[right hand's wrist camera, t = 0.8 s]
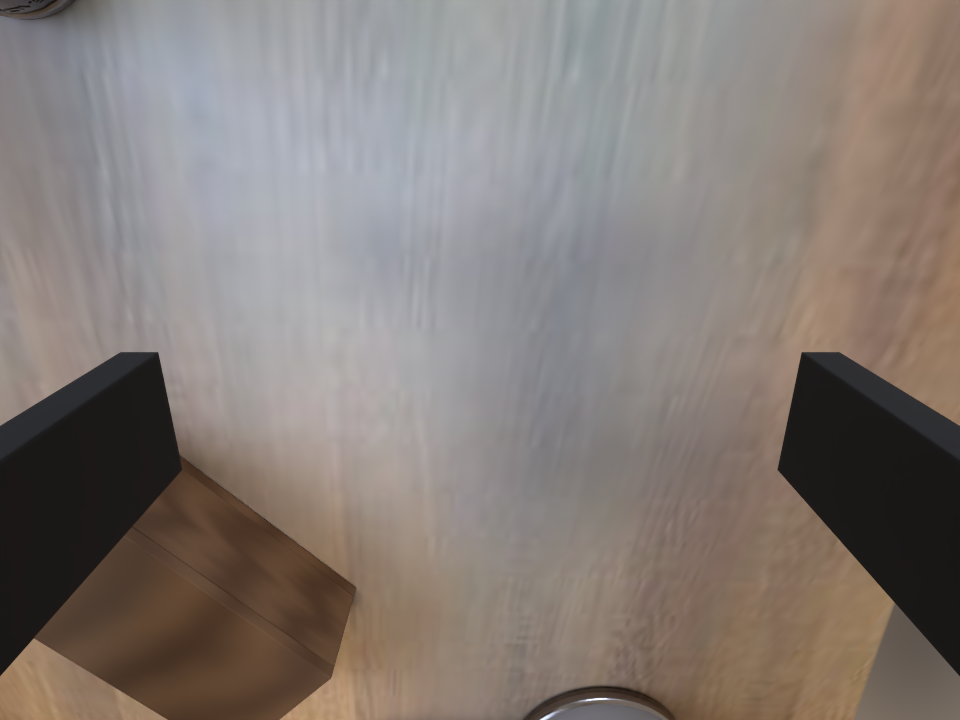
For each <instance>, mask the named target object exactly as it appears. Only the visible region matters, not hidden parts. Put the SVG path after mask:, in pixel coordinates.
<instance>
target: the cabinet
mask: <svg viewBox="0 0 960 720" xmlns="http://www.w3.org/2000/svg"><path fill="white" fill-rule="evenodd" d="M180 461H181V466H182V471H181V472H180V473H179V474H178V475H177V476H176V478H175V479H174V480H173V481H172V482H171V483H170V484H169V485H168V487H167V488H166V489H165V490H164V491H163V492H162V493H161V495H160V496H159V497H158V498H157V499H156V500H155V501H154V502H153V504H152V505H151V506H150V507H149V508H148V509H147V510H146V511H145V513H144V514H143V515H142V516H141V517H140V518H139V519H138V521H137V522H136V523H135V524H134V525H133V526H132V527H131V528H130V530H129V531H128V532H127V533H126V534H125V535H124V536H123V538H122V539H121V540H120V541H119V542H118V543H117V544H116V545H115V547H114V548H113V549H112V550H111V551H110V552H109V553H108V555H107V556H106V557H105V558H104V559H103V560H102V561H101V562H100V564H99V565H98V566H97V567H96V568H95V569H94V570H93V572H92V573H91V574H90V575H89V576H88V577H87V578H86V579H85V581H84V582H83V583H82V584H81V585H80V586H79V587H78V589H77V590H76V591H75V592H74V593H73V594H72V595H71V596H70V598H69V599H68V600H67V601H66V602H65V603H64V604H63V606H62V607H61V608H60V609H59V610H58V611H57V612H56V613H55V615H54V616H53V617H52V618H51V619H50V620H49V621H48V623H47V624H46V625H45V626H44V627H43V628H42V629H41V630H40V632H39V633H38V634H37V635H36V636H35V637H34V639H36V640H38V641H39V642H41V643H43V644H44V645H46V646H48V647H49V648H51V649H53V650H54V651H56V652H57V653H59V654H61V655H62V656H64V657H66V658H67V659H69V660H71V661H72V662H74V663H76V664H77V665H79V666H80V667H82V668H84V669H85V670H87V671H89V672H90V673H92V674H94V675H95V676H97V677H99V678H100V679H102V680H103V681H105V682H107V683H108V684H110V685H112V686H113V687H115V688H117V689H118V690H120V691H122V692H123V693H125V694H126V695H128V696H130V697H131V698H133V699H135V700H136V701H138V702H140V703H141V704H143V705H145V706H146V707H148V708H149V709H151V710H153V711H154V712H156V713H158V714H159V715H161V716H163V717H164V718H166V719H168V720H279V719H281V718H282V717H283V716H284V715H286V714H287V713H288V712H289V711H291V710H292V709H293V708H294V707H296V706H297V705H298V704H299V703H301V702H302V701H303V700H304V699H306V698H307V697H308V696H309V695H311V694H312V693H313V692H314V691H316V690H317V689H318V688H319V687H321V686H322V685H323V684H324V683H326V682H327V681H328V680H329V679H331V677H332V673H333V669H334V666H335V662H336V658H337V655H338V651H339V647H340V644H341V640H342V636H343V633H344V629H345V625H346V622H347V618H348V614H349V611H350V607H351V603H352V600H353V596H354V593H355V589H356V588H355V587H354V586H353V585H351V584H350V583H349V582H347V581H346V580H345V579H343V578H342V577H341V576H339V575H338V574H337V573H335V572H334V571H333V570H331V569H330V568H329V567H327V566H326V565H325V564H323V563H322V562H321V561H319V560H318V559H317V558H315V557H314V556H313V555H311V554H310V553H309V552H307V551H306V550H305V549H303V548H302V547H301V546H299V545H298V544H297V543H295V542H294V541H293V540H291V539H290V538H289V537H287V536H286V535H285V534H283V533H282V532H281V531H279V530H278V529H277V528H275V527H274V526H273V525H271V524H270V523H269V522H267V521H266V520H264V519H263V518H262V517H260V516H259V515H258V514H256V513H255V512H254V511H252V510H251V509H250V508H248V507H247V506H246V505H244V504H243V503H242V502H240V501H239V500H238V499H236V498H235V497H234V496H232V495H231V494H230V493H228V492H227V491H226V490H224V489H223V488H222V487H220V486H219V485H218V484H216V483H215V482H214V481H212V480H211V479H210V478H208V477H207V476H206V475H204V474H203V473H202V472H200V471H199V470H198V469H196V468H195V467H194V466H192V465H191V464H190V463H188V462H187V461H186V460H184V459H183V458H182V457H180Z"/></svg>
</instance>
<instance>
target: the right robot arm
mask: <svg viewBox="0 0 960 720" xmlns="http://www.w3.org/2000/svg"><path fill="white" fill-rule="evenodd" d="M181 471H182V466H181V461H180V456H179V451H178V446H177V441H176V436H175V432H174V427H173V422H172V417H171V412H170V407H169V402H168V398H167V393H166V388H165V383H164V378H163V373H162V368H161V364H160V359H159V354H158V352H120V353H119V354H117V355H116V356H114V357H112V358H111V359H109V360H107V361H106V362H104V363H102V364H101V365H99V366H98V367H96V368H94V369H93V370H91V371H89V372H88V373H86V374H84V375H83V376H81V377H80V378H78V379H76V380H75V381H73V382H71V383H70V384H68V385H66V386H65V387H63V388H62V389H60V390H58V391H57V392H55V393H53V394H52V395H50V396H48V397H47V398H45V399H44V400H42V401H40V402H39V403H37V404H35V405H34V406H32V407H31V408H29V409H27V410H26V411H24V412H22V413H21V414H19V415H17V416H16V417H14V418H13V419H11V420H9V421H8V422H6V423H4V424H3V425H1V426H0V676H1V675H2V673H3V672H4V671H5V670H6V669H7V668H8V667H9V666H10V664H11V663H12V662H13V661H14V660H15V659H16V658H17V657H18V655H19V654H20V653H21V652H22V651H23V650H24V649H25V647H26V646H27V645H28V644H29V643H30V642H31V641H32V640H33V638H34V637H35V636H36V635H37V634H38V633H39V632H40V630H41V629H42V628H43V627H44V626H45V625H46V624H47V623H48V621H49V620H50V619H51V618H52V617H53V616H54V615H55V613H56V612H57V611H58V610H59V609H60V608H61V607H62V606H63V604H64V603H65V602H66V601H67V600H68V599H69V598H70V596H71V595H72V594H73V593H74V592H75V591H76V590H77V589H78V587H79V586H80V585H81V584H82V583H83V582H84V581H85V579H86V578H87V577H88V576H89V575H90V574H91V573H92V572H93V570H94V569H95V568H96V567H97V566H98V565H99V564H100V562H101V561H102V560H103V559H104V558H105V557H106V556H107V555H108V553H109V552H110V551H111V550H112V549H113V548H114V547H115V545H116V544H117V543H118V542H119V541H120V540H121V539H122V538H123V536H124V535H125V534H126V533H127V532H128V531H129V530H130V528H131V527H132V526H133V525H134V524H135V523H136V522H137V521H138V519H139V518H140V517H141V516H142V515H143V514H144V513H145V511H146V510H147V509H148V508H149V507H150V506H151V505H152V504H153V502H154V501H155V500H156V499H157V498H158V497H159V496H160V495H161V493H162V492H163V491H164V490H165V489H166V488H167V487H168V485H169V484H170V483H171V482H172V481H173V480H174V479H175V478H176V476H177V475H178V474H179V473H180V472H181ZM778 471H779V472H780V473H781V474H782V475H783V476H784V478H785V479H786V480H787V481H788V482H789V483H790V484H791V485H792V487H793V488H794V489H795V490H796V491H797V492H798V493H799V495H800V496H801V497H802V498H803V499H804V500H805V501H806V502H807V504H808V505H809V506H810V507H811V508H812V509H813V510H814V512H815V513H816V514H817V515H818V516H819V517H820V518H821V519H822V521H823V522H824V523H825V524H826V525H827V526H828V527H829V528H830V530H831V531H832V532H833V533H834V534H835V535H836V536H837V538H838V539H839V540H840V541H841V542H842V543H843V544H844V545H845V547H846V548H847V549H848V550H849V551H850V552H851V553H852V555H853V556H854V557H855V558H856V559H857V560H858V561H859V562H860V564H861V565H862V566H863V567H864V568H865V569H866V570H867V572H868V573H869V574H870V575H871V576H872V577H873V578H874V579H875V581H876V582H877V583H878V584H879V585H880V586H881V587H882V589H883V590H884V591H885V592H886V593H887V594H888V595H889V596H890V598H891V599H892V600H893V601H894V602H895V603H896V604H897V605H898V607H899V608H900V609H901V610H902V611H903V612H904V613H905V615H906V616H907V617H908V618H909V619H910V620H911V621H912V623H913V624H914V625H915V626H916V627H917V628H918V629H919V630H920V632H921V633H922V634H923V635H924V636H925V637H926V638H927V639H928V641H929V642H930V643H931V644H932V645H933V646H934V647H935V649H936V650H937V651H938V652H939V653H940V654H941V655H942V656H943V658H944V659H945V660H946V661H947V662H948V663H949V664H950V666H951V667H952V668H953V669H954V670H955V671H956V672H957V673H958V675H959V676H960V426H959V425H957V424H956V423H954V422H952V421H951V420H949V419H947V418H946V417H944V416H943V415H941V414H939V413H938V412H936V411H934V410H933V409H931V408H929V407H928V406H926V405H925V404H923V403H921V402H920V401H918V400H916V399H915V398H913V397H912V396H910V395H908V394H907V393H905V392H903V391H902V390H900V389H898V388H897V387H895V386H894V385H892V384H890V383H889V382H887V381H885V380H884V379H882V378H880V377H879V376H877V375H876V374H874V373H872V372H871V371H869V370H867V369H866V368H864V367H862V366H861V365H859V364H858V363H856V362H854V361H853V360H851V359H849V358H848V357H846V356H844V355H843V354H841V353H840V352H802V354H801V359H800V364H799V368H798V373H797V378H796V383H795V388H794V393H793V398H792V402H791V407H790V412H789V417H788V422H787V427H786V432H785V436H784V441H783V446H782V451H781V456H780V461H779V466H778ZM525 720H675V719H674V717H673V716H672V715H671V714H670V712H669V711H668V710H666V709H665V708H664V707H663V706H662V705H660V704H659V703H657V702H656V701H654V700H652V699H650V698H648V697H646V696H644V695H641V694H638V693H635V692H631V691H627V690H622V689H614V688H592V689H584V690H578V691H574V692H570V693H567V694H564V695H561V696H558V697H556V698H554V699H551V700H550V701H548V702H546V703H544V704H542V705H541V706H539V707H538V708H537V709H535V710H534V711H533V712H532V713H530V714H529V715H528V716H527V717H526V718H525Z"/></svg>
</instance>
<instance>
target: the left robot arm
mask: <svg viewBox="0 0 960 720" xmlns="http://www.w3.org/2000/svg"><path fill="white" fill-rule="evenodd" d="M73 1H74V0H0V15H2V16H6V17H10V18H16V19H38V18H43V17H47V16H50V15H53V14H55V13H57V12H59V11H61V10H62V9H64V8H66V7H67V6H68V5H69V4H70V3H72V2H73Z"/></svg>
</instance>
